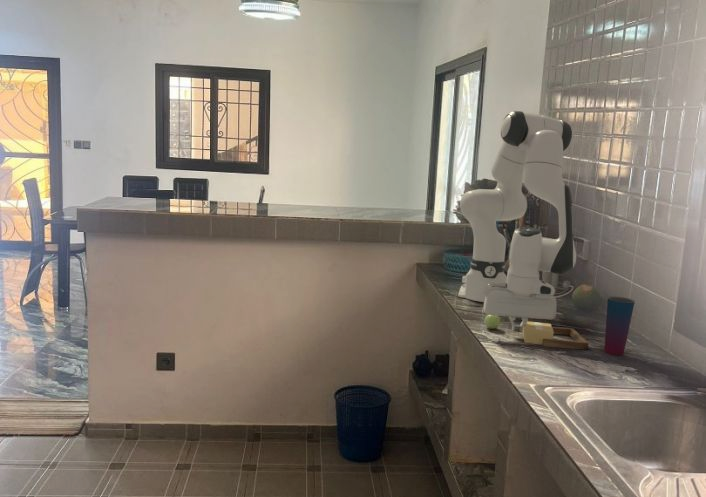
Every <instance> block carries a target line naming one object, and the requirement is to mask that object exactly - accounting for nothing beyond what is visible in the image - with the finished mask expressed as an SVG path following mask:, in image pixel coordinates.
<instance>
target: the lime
mask: <svg viewBox="0 0 706 497" xmlns="http://www.w3.org/2000/svg"><path fill="white" fill-rule="evenodd" d="M500 324H501V318H500V316H497V315H487V314H486V316H485V318H484V325H485V326H486V327H487V328H488V329H491V330H494V329H497V328H498V327H499V326H500Z"/></svg>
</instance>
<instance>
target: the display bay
mask: <svg viewBox="0 0 706 497" xmlns="http://www.w3.org/2000/svg"><path fill="white" fill-rule="evenodd" d="M552 328H553V331H554V334H553V335H567V336H570V337H571V339H573V340H566V339H565V340H563V339H554V338H553V339H543V344H542V345H541V346H543V347H548V348H560V349H563V348H564V349H576V350H577V349H578V350H589V344H590V342H588V341H587V340H586V339H585V338H584V337H583V336H582V335H581V334H580V333H579V332H578V331H576V329H575V328H574V327H564V326H562V327H560V326H552Z"/></svg>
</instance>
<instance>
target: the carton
mask: <svg viewBox="0 0 706 497" xmlns="http://www.w3.org/2000/svg"><path fill="white" fill-rule="evenodd" d="M552 327H553V326H552V324H551V323H546V322H536V321H530V320H528V322H527V323H526V325H525V326H524V327H523V332H522V338H523V341H524V342H523V343H525V344H534V345H541V346H543V345H542V344H543V339H553V340H554V335H555V334H554V331H553V328H552Z"/></svg>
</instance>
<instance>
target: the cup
mask: <svg viewBox="0 0 706 497" xmlns="http://www.w3.org/2000/svg"><path fill="white" fill-rule="evenodd" d="M606 302H607V306H606V317H605V318H606V319H605V320H606V321H605V331H604V332H605V335H604V336H605V337H604V346H603V347H604V348H603V349H604V352H605V353H607V354H609V355H614V356H623V355H624V354H625V350H626V345H627V340H628V336H629V335H628V334H629V331H630V325H631V321H632V316H633V312H634V307H635V303H636V301H635V299H631V298H627V297H623V296H608V297H607V301H606Z"/></svg>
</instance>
